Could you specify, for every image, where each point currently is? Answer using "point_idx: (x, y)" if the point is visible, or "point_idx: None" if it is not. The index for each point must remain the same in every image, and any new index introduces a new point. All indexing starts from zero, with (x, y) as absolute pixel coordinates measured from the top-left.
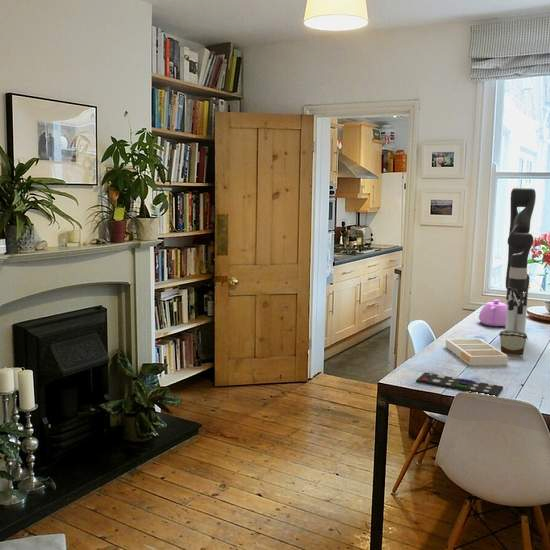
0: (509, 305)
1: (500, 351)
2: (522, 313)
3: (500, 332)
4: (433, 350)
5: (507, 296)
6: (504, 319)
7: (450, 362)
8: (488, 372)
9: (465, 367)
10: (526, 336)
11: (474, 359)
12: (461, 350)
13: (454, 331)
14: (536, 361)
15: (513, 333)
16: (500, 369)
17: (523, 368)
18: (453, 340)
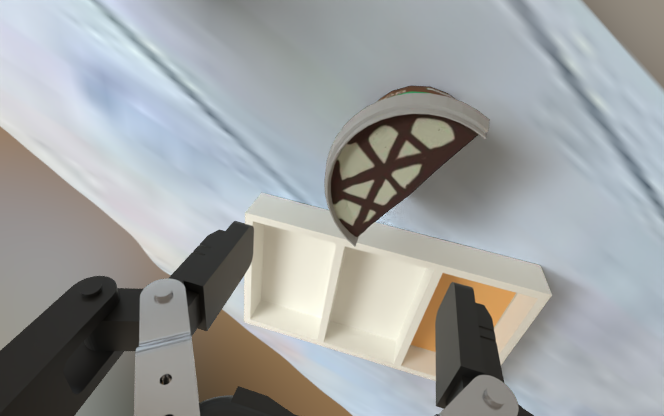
0: (226, 299)
1: (473, 275)
2: (472, 288)
3: (352, 241)
4: (289, 344)
5: (95, 379)
6: None
7: (420, 380)
8: (572, 368)
9: None
10: (483, 134)
11: None
12: (393, 366)
13: (26, 137)
14: (580, 97)
15: (368, 157)
16: (571, 320)
17: (625, 242)
18: (252, 302)
